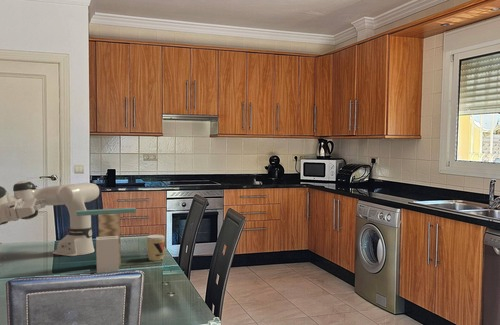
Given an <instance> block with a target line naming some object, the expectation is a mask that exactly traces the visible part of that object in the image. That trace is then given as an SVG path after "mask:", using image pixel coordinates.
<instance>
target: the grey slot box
mask: <svg viewBox="0 0 500 325" xmlns="http://www.w3.org/2000/svg"><path fill="white" fill-rule="evenodd" d="M95 243H96V245H95V247H96V249H95V250H96V252H95V253H96V254H95V255H96V274H97V273H100V272H106V271H107V272H109V271H118V270H119V271H120V266H119V242H118V236H107V237H99V236H96V237H95Z"/></svg>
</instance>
